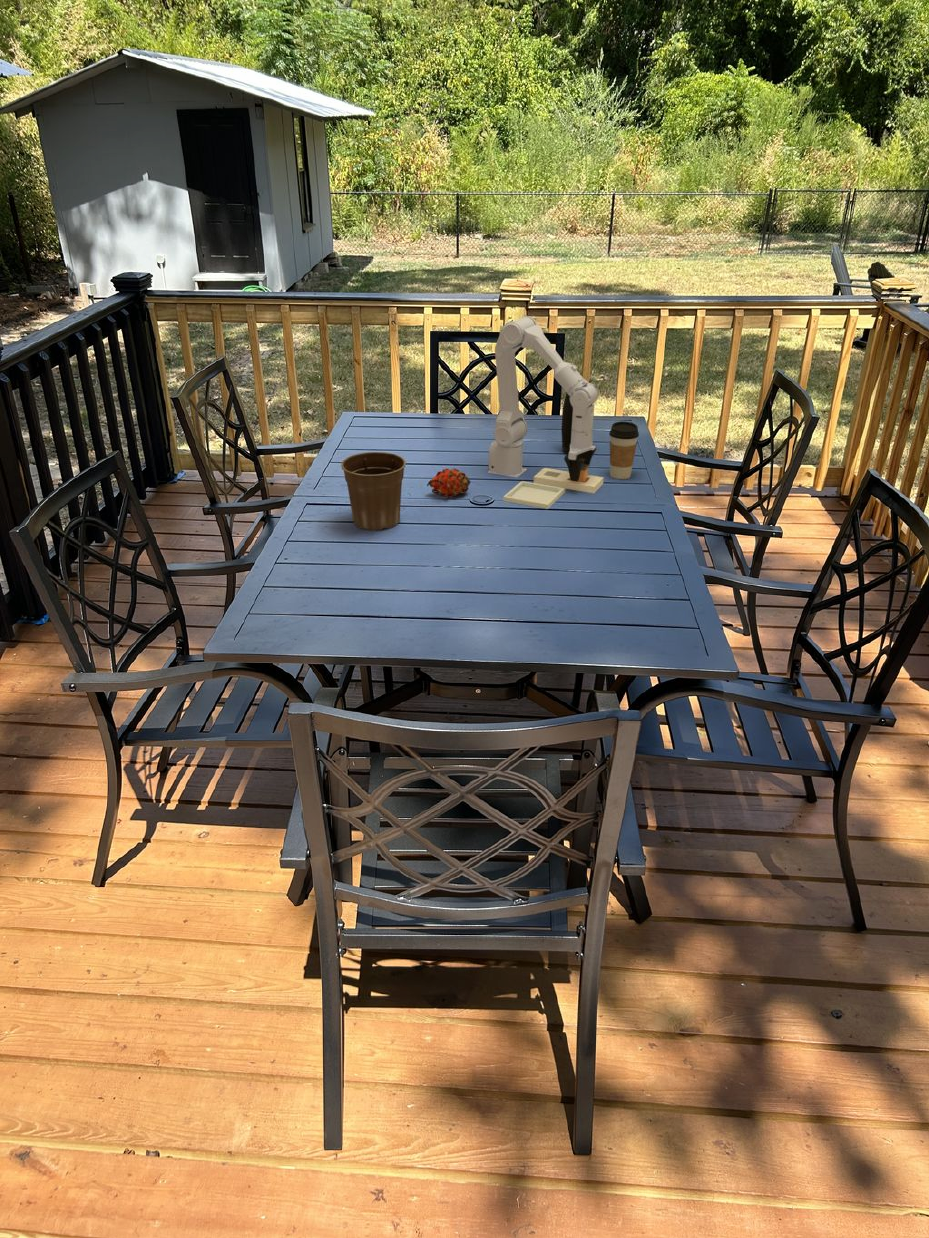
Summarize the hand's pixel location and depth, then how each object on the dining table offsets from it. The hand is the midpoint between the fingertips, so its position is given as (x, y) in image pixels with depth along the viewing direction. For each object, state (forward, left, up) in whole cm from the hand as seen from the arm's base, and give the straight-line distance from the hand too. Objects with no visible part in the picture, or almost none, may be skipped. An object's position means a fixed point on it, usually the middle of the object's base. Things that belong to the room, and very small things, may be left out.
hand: (578, 476), depth 255 cm
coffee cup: (+8, +14, -3) cm, 16 cm away
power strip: (-3, 0, -3) cm, 4 cm away
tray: (-8, -14, -3) cm, 16 cm away
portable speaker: (-11, +28, -3) cm, 30 cm away
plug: (0, 0, -3) cm, 3 cm away
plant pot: (-39, -46, -3) cm, 60 cm away
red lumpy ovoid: (-30, -22, -3) cm, 37 cm away
